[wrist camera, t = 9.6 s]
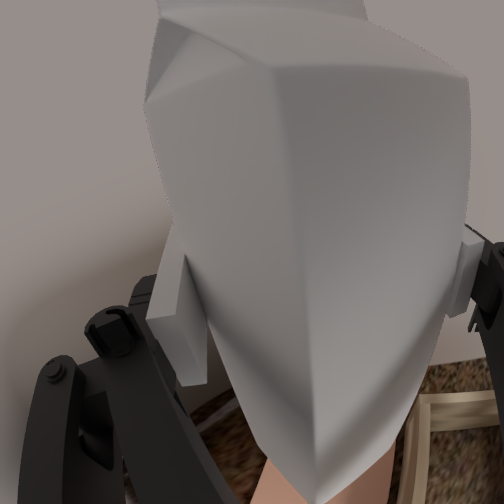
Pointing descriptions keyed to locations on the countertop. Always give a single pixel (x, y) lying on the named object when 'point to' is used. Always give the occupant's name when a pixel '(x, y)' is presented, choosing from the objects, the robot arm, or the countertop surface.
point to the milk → (312, 214)
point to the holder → (438, 419)
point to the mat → (348, 500)
